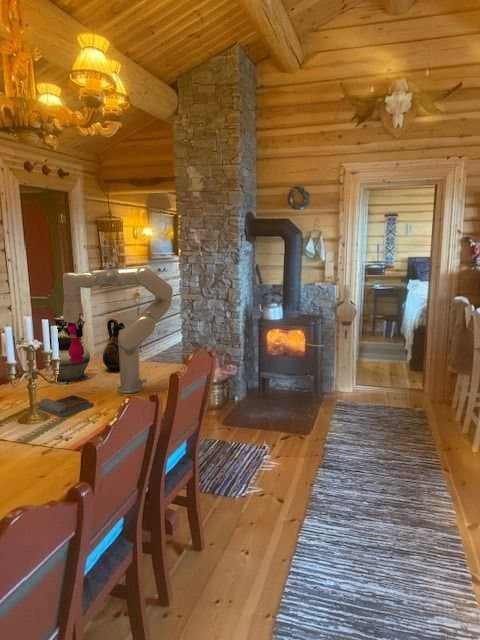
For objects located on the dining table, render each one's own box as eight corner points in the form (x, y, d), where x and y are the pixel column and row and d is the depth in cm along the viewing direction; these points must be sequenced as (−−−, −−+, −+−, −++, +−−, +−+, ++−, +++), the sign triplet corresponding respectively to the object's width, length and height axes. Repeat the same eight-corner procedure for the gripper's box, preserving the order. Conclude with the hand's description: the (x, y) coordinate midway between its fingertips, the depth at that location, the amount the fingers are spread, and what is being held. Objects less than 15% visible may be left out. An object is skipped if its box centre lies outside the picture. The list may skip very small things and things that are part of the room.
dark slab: (69, 399, 213) (69, 389, 212) (93, 406, 203) (93, 396, 202) (38, 408, 200) (37, 399, 200) (62, 417, 190) (61, 407, 189)
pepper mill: (79, 363, 214) (76, 321, 211) (66, 362, 215) (63, 321, 212) (87, 359, 221) (85, 319, 218) (74, 359, 222) (71, 319, 219)
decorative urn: (67, 387, 233) (63, 321, 226) (41, 380, 244) (37, 316, 237) (99, 377, 250) (96, 315, 244) (74, 370, 261) (70, 311, 255)
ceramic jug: (135, 369, 266) (134, 319, 262) (116, 375, 253) (113, 322, 249) (115, 365, 275) (113, 316, 271) (95, 370, 262) (92, 320, 258)
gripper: (54, 298, 215) (57, 335, 218) (77, 300, 205) (79, 339, 208) (68, 297, 221) (71, 333, 224) (90, 299, 211) (93, 336, 214)
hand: (75, 335), depth 216 cm, fingers closed on pepper mill, 6 cm apart
